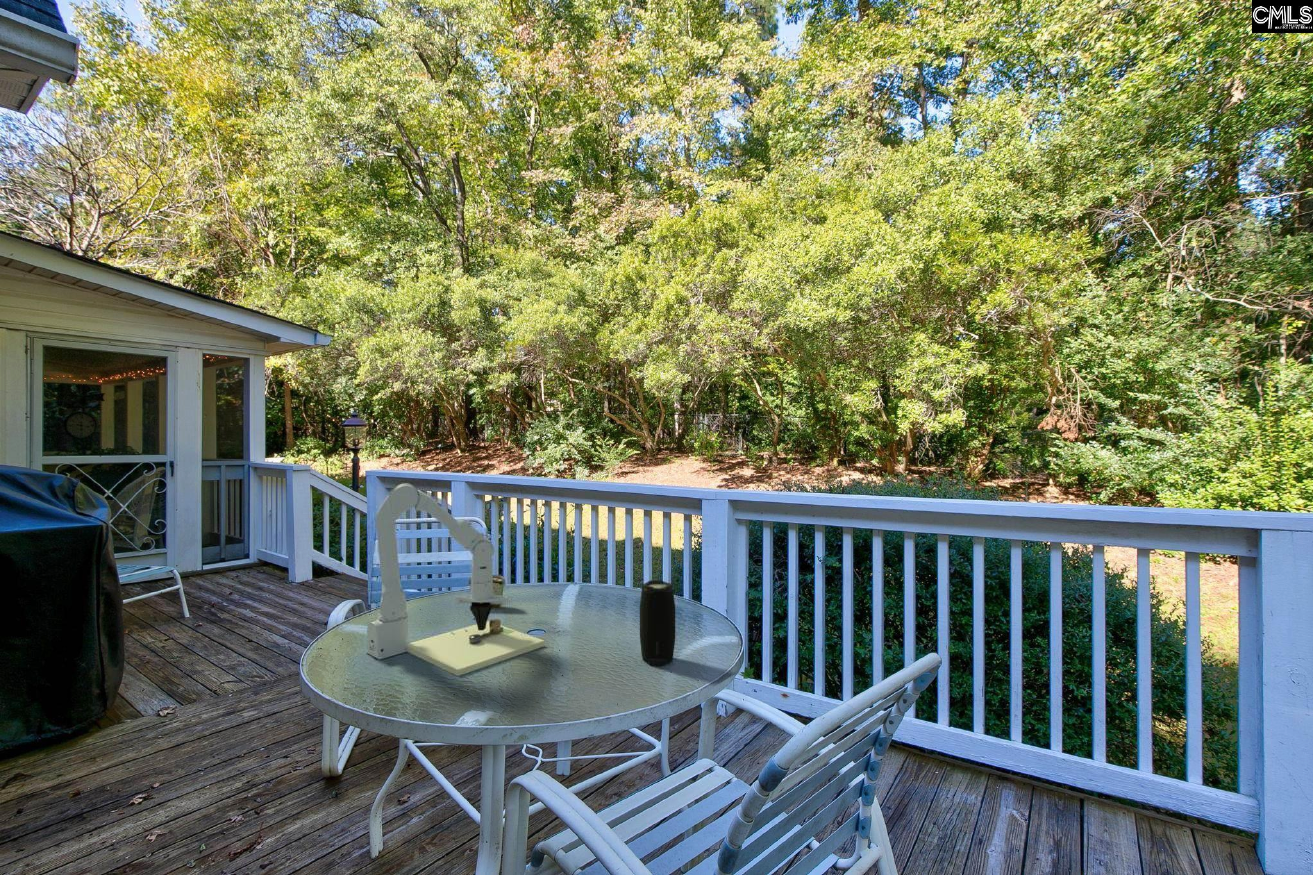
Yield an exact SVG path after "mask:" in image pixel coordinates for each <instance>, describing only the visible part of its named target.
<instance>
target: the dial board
mask: <svg viewBox="0 0 1313 875" xmlns="http://www.w3.org/2000/svg"><path fill="white" fill-rule="evenodd" d="M489 621H490V620H487V623H486V628H485V629H484V630H483V631H482V630H478V626H477V623H476V624H473V625H469V626H466V627H465V626H464V627H463V628H459V629H455V630H452V631H449V632H448V631H447V632H445V633H442V634H441V633H440V634H438V635H437V634H436V635H434V636H430V637H427V638H423V639H420V640H416V641H412V642H408V644H407V645H406V649H407V650H408V651H407V652H406V653H409V654H411V655H413V656H415V657H416V658H419V659H421V660H424V661H425V662H427V663H430V664H432V665H433V666H436V667H438V668H439V669H441V670H444V671H446V672H449V673H451V674H453V675H455V676H456V677H459V676H462V675H464V674H467V673H471V672H474V671H476V670H479V669H482V668H485V667H489V666H491V665H493V664H494V665H495V664H497V663H500V662H502V661H505V660H508V659H511V658H514V657H517V656H519V655H522V654H525V653H529V652H531V651H535V650H536V649H539V648H543V647H545V640H544V639H540V638H538V637H535V636H532V635H529V634H526V633H525V632H524V633H523V632H521V631H519V630H515V629H512V628H510V627H507V626H504V625H501V627H503V630H501V632H500V633H498V634H492V635H490V636H488V637H485V638H483V639H481V642H479V643H469V636H471V635H475V634H479V635H481V636H482V635H484V634H486V633H488V632H489Z"/></svg>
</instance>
